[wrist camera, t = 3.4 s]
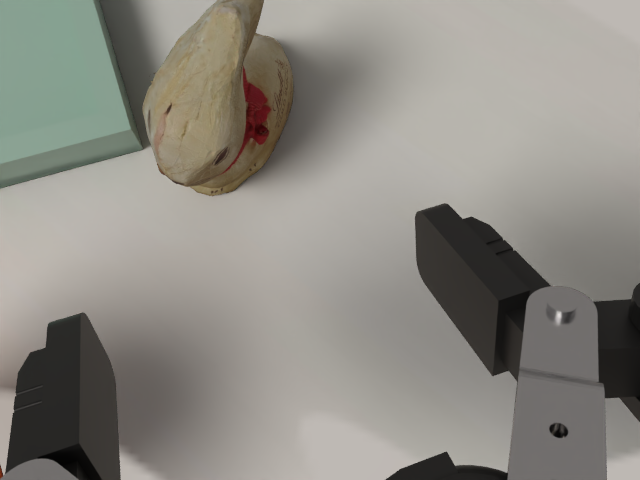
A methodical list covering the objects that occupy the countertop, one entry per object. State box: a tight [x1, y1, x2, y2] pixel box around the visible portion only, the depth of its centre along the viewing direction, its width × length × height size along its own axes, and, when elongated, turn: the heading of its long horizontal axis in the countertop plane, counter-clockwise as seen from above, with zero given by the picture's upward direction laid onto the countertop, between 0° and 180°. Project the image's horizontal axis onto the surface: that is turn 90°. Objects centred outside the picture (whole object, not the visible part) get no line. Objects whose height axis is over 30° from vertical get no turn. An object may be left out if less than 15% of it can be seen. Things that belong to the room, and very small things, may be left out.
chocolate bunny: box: [142, 0, 293, 196], centre depth 22 cm, size 6×8×10 cm
